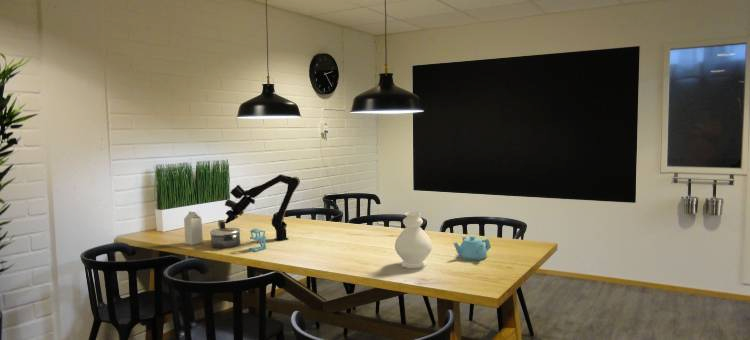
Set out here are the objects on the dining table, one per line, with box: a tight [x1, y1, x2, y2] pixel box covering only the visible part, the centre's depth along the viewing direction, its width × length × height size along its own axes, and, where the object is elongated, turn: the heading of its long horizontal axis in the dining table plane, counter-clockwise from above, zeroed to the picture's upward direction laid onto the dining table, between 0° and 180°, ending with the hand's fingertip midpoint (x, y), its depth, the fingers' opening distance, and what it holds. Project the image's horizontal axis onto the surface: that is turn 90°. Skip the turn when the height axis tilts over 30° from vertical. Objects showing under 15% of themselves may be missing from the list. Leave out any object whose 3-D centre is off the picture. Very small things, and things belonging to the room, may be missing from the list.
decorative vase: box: [394, 211, 433, 269], centre depth 253 cm, size 18×18×25 cm
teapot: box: [453, 235, 491, 261], centre depth 264 cm, size 15×15×11 cm
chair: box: [248, 228, 267, 253], centre depth 293 cm, size 8×8×12 cm
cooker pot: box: [210, 232, 241, 250], centre depth 308 cm, size 26×16×7 cm, turn 24°
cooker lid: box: [209, 219, 241, 236], centre depth 308 cm, size 23×17×5 cm
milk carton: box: [183, 211, 204, 246], centre depth 313 cm, size 7×7×19 cm
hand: (225, 223), depth 318 cm, fingers closed
